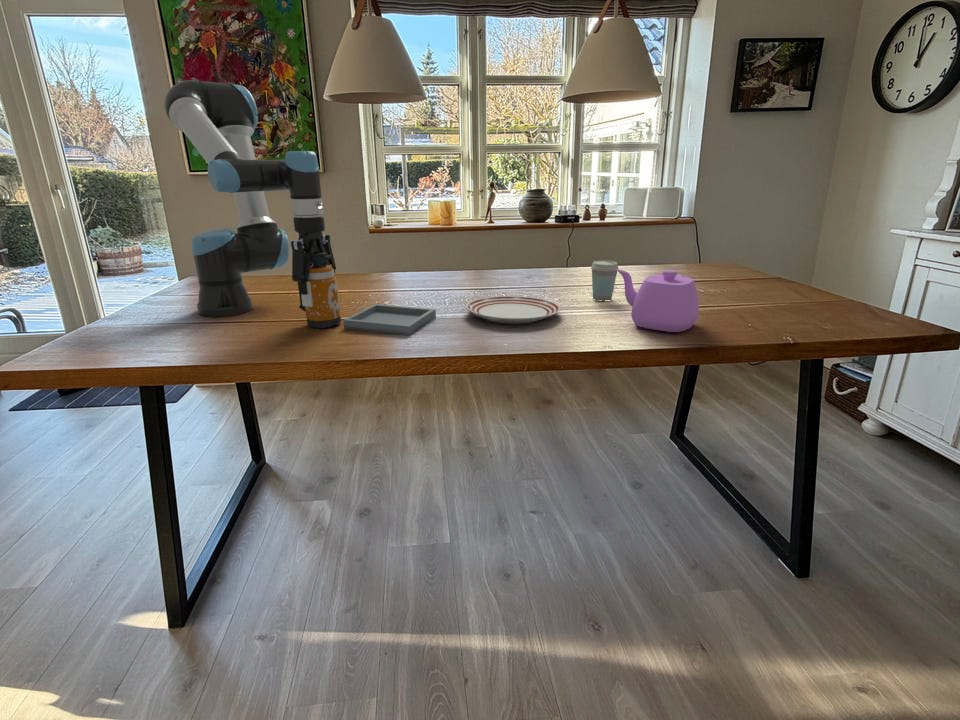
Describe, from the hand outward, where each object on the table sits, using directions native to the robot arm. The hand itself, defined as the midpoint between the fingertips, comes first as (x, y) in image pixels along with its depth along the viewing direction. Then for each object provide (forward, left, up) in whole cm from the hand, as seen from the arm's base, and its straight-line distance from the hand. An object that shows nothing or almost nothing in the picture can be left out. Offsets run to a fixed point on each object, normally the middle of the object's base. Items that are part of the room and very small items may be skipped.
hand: (318, 301), depth 142 cm
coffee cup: (+71, +51, -7) cm, 88 cm away
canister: (0, 0, -7) cm, 7 cm away
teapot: (+89, +27, -7) cm, 93 cm away
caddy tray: (+18, +7, -6) cm, 20 cm away
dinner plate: (+48, +25, -7) cm, 55 cm away
